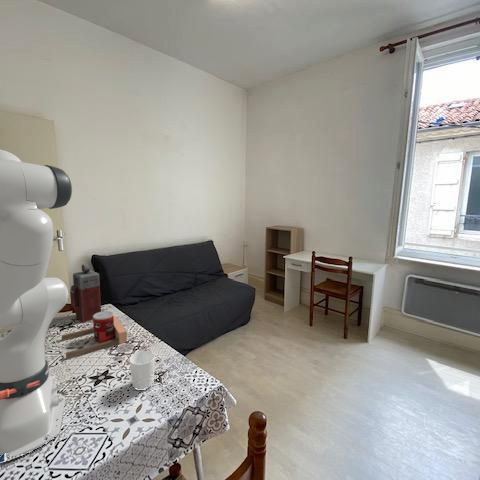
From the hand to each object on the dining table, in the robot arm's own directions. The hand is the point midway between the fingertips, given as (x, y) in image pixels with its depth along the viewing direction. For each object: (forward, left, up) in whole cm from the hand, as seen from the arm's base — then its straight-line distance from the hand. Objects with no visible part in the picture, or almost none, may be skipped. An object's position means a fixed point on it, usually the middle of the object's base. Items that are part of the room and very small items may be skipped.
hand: (13, 288), depth 96 cm
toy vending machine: (+27, -25, -29) cm, 47 cm away
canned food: (+1, -29, -29) cm, 41 cm away
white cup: (-38, -32, -29) cm, 58 cm away
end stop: (+1, -34, -29) cm, 45 cm away
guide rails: (+1, -23, -29) cm, 37 cm away
